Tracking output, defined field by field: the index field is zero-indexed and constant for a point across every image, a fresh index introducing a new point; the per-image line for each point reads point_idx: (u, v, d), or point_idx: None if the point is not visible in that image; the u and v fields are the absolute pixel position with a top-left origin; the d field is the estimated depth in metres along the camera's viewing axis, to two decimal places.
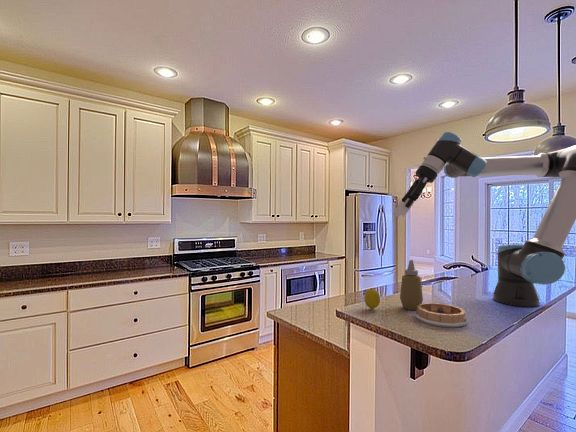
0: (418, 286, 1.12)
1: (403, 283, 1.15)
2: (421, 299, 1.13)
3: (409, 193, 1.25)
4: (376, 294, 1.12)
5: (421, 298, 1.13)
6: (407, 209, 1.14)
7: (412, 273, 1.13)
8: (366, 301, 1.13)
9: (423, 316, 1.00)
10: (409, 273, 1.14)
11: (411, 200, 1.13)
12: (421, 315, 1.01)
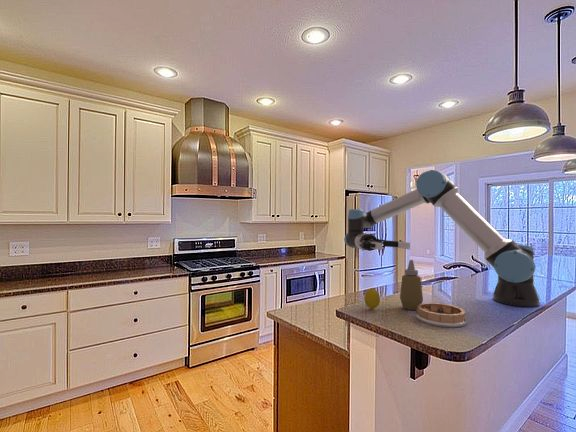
0: (418, 286, 1.12)
1: (403, 283, 1.15)
2: (421, 299, 1.13)
3: (388, 245, 1.36)
4: (376, 294, 1.12)
5: (421, 298, 1.13)
6: (376, 243, 1.25)
7: (412, 273, 1.13)
8: (366, 301, 1.13)
9: (423, 316, 1.00)
10: (409, 273, 1.14)
11: (369, 245, 1.28)
12: (421, 315, 1.01)
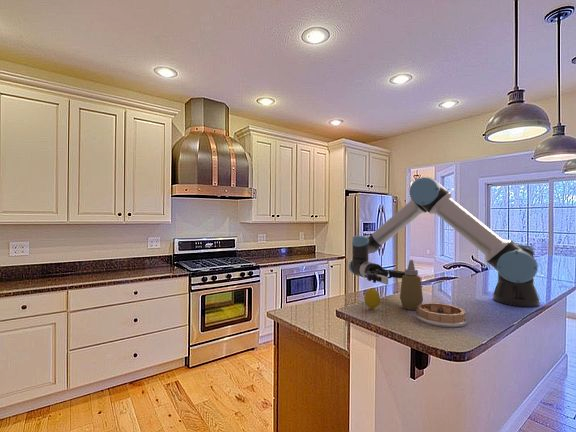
0: (418, 286, 1.12)
1: (403, 283, 1.15)
2: (421, 299, 1.13)
3: (394, 276, 1.31)
4: (376, 294, 1.12)
5: (421, 298, 1.13)
6: (382, 277, 1.20)
7: (412, 273, 1.13)
8: (366, 301, 1.13)
9: (423, 316, 1.00)
10: (409, 273, 1.14)
11: (374, 278, 1.23)
12: (421, 315, 1.01)
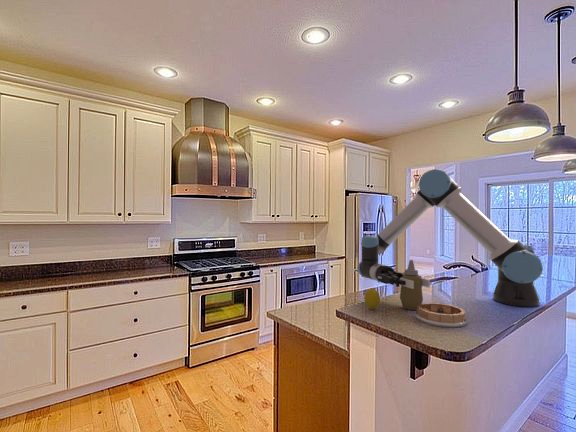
0: (418, 286, 1.12)
1: None
2: (421, 299, 1.13)
3: None
4: (376, 294, 1.12)
5: (421, 298, 1.13)
6: (406, 281, 1.12)
7: (412, 273, 1.13)
8: (366, 301, 1.13)
9: (423, 316, 1.00)
10: (409, 273, 1.14)
11: (398, 281, 1.15)
12: (421, 315, 1.01)
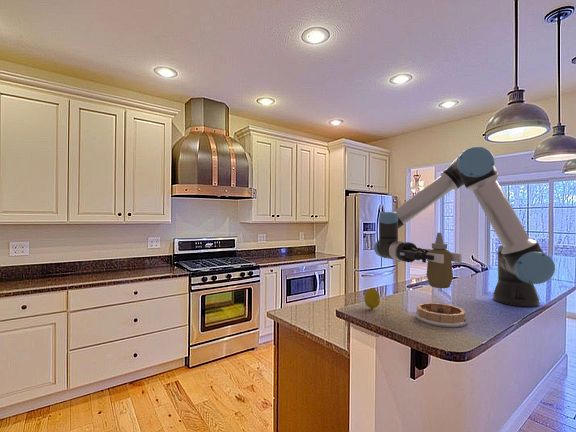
0: (447, 261, 0.99)
1: None
2: (451, 276, 1.00)
3: None
4: (376, 294, 1.12)
5: (451, 275, 1.00)
6: (435, 255, 0.99)
7: (441, 247, 1.00)
8: (366, 301, 1.13)
9: (423, 316, 1.00)
10: (437, 247, 1.01)
11: (424, 256, 1.02)
12: (421, 315, 1.01)
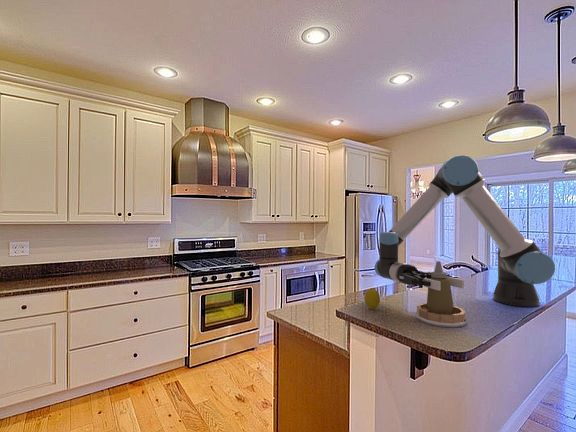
0: (447, 290, 0.99)
1: None
2: (452, 305, 0.99)
3: None
4: (376, 294, 1.12)
5: (452, 304, 0.99)
6: (431, 281, 0.99)
7: (440, 276, 1.00)
8: (366, 301, 1.13)
9: (423, 316, 1.00)
10: (437, 276, 1.01)
11: (421, 282, 1.02)
12: (421, 315, 1.01)
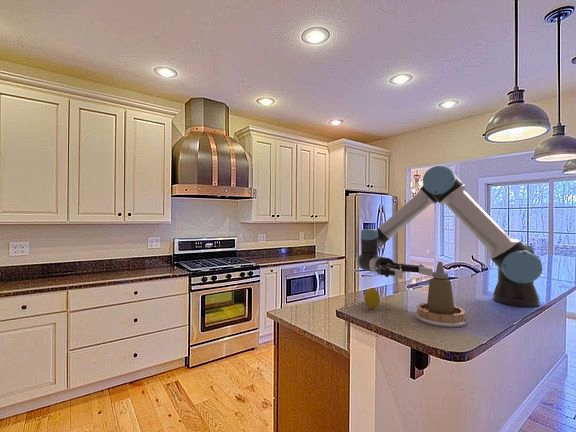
0: (448, 291, 0.99)
1: (431, 288, 1.01)
2: (452, 306, 0.99)
3: (407, 270, 1.24)
4: (376, 294, 1.12)
5: (452, 305, 0.99)
6: (395, 271, 1.13)
7: (442, 276, 1.00)
8: (366, 301, 1.13)
9: (423, 316, 1.00)
10: (438, 276, 1.01)
11: (387, 272, 1.16)
12: (421, 315, 1.01)
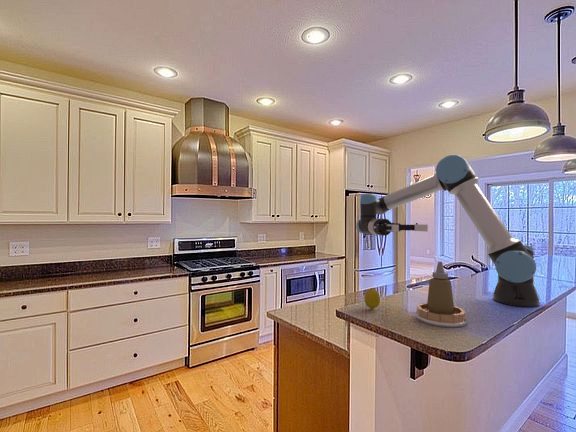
0: (448, 291, 0.99)
1: (431, 288, 1.01)
2: (452, 306, 0.99)
3: (404, 228, 1.31)
4: (376, 294, 1.12)
5: (452, 305, 0.99)
6: (392, 225, 1.20)
7: (442, 276, 1.00)
8: (366, 301, 1.13)
9: (423, 316, 1.00)
10: (438, 276, 1.01)
11: (384, 227, 1.23)
12: (421, 315, 1.01)
